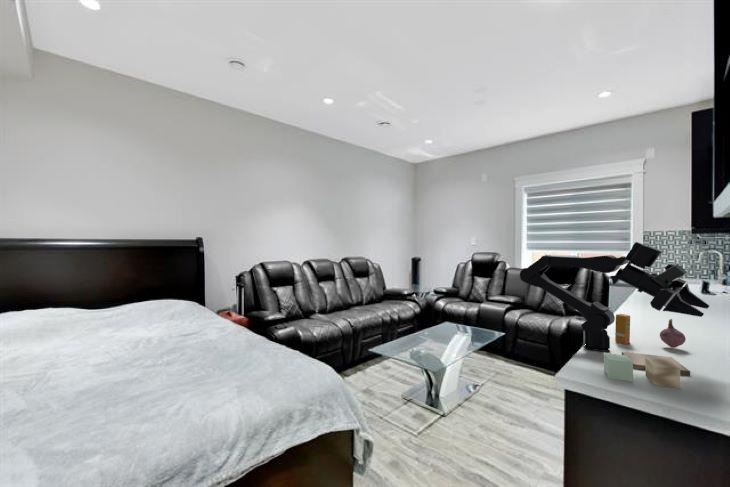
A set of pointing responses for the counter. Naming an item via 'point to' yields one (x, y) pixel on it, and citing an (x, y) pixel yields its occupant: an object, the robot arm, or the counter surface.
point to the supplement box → (622, 328)
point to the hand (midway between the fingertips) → (705, 311)
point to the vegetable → (672, 336)
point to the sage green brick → (618, 366)
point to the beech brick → (662, 372)
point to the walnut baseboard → (640, 358)
